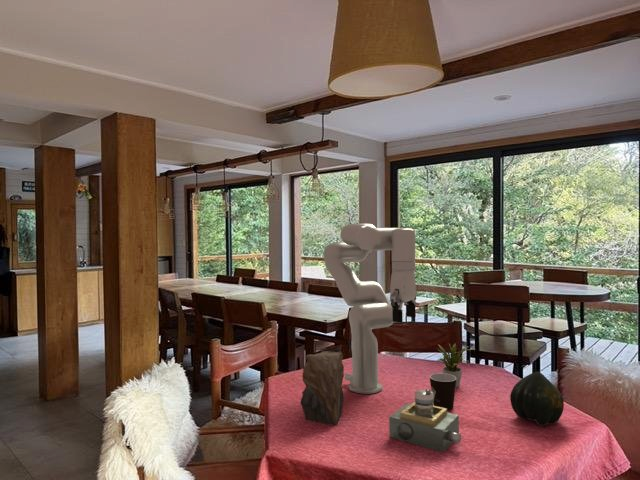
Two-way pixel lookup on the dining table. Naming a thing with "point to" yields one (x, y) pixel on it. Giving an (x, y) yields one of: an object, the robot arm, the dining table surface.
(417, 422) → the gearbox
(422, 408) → the silver lidded pot
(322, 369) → the brown rock
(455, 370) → the house plant
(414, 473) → the dining table surface
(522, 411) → the squash
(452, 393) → the coffee mug
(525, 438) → the dining table surface
